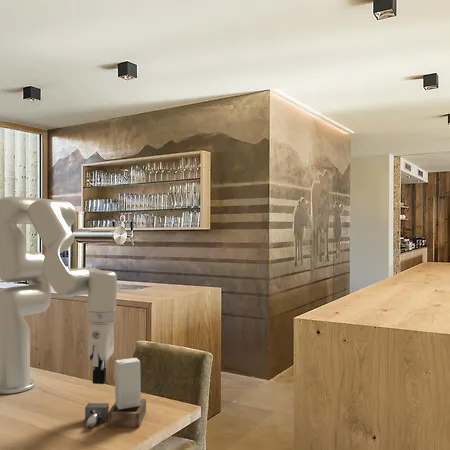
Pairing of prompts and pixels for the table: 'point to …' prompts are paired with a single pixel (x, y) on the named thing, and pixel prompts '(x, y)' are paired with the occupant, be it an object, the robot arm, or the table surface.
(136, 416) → the brown wooden open box
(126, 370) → the skincare box
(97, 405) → the pin mount
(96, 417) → the lock pin
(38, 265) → the robot arm
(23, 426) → the table surface
